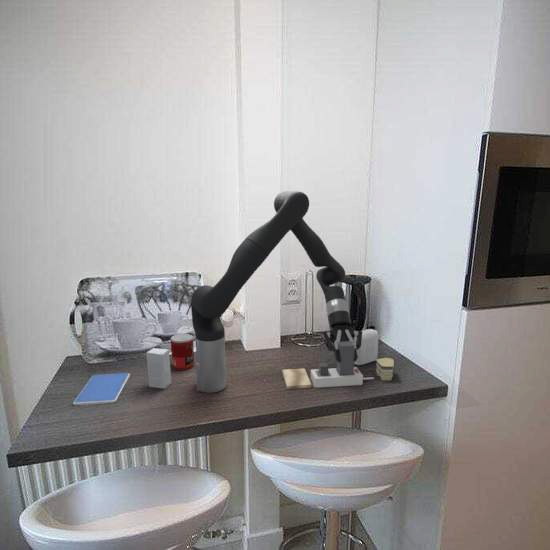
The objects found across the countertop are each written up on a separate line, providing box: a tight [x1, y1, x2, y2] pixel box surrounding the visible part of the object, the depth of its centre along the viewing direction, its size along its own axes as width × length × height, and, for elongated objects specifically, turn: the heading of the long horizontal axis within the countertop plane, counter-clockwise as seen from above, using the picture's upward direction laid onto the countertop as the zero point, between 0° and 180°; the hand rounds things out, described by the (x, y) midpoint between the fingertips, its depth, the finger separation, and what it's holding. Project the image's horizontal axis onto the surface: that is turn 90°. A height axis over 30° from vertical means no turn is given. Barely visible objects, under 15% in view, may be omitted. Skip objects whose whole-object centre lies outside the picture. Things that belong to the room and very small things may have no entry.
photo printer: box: [353, 328, 380, 366], centre depth 146 cm, size 10×4×12 cm, turn 123°
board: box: [281, 368, 313, 390], centre depth 133 cm, size 8×12×1 cm, turn 7°
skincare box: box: [146, 347, 172, 390], centre depth 128 cm, size 6×4×12 cm
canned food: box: [170, 333, 195, 371], centre depth 143 cm, size 8×8×11 cm
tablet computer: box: [72, 372, 131, 406], centre depth 128 cm, size 19×13×1 cm, turn 7°
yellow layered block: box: [375, 357, 395, 381], centre depth 135 cm, size 10×9×6 cm
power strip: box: [310, 362, 375, 389], centre depth 131 cm, size 21×6×6 cm, turn 97°
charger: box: [336, 341, 355, 375], centre depth 130 cm, size 4×4×10 cm
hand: (347, 361), depth 128 cm, fingers closed on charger, 4 cm apart
